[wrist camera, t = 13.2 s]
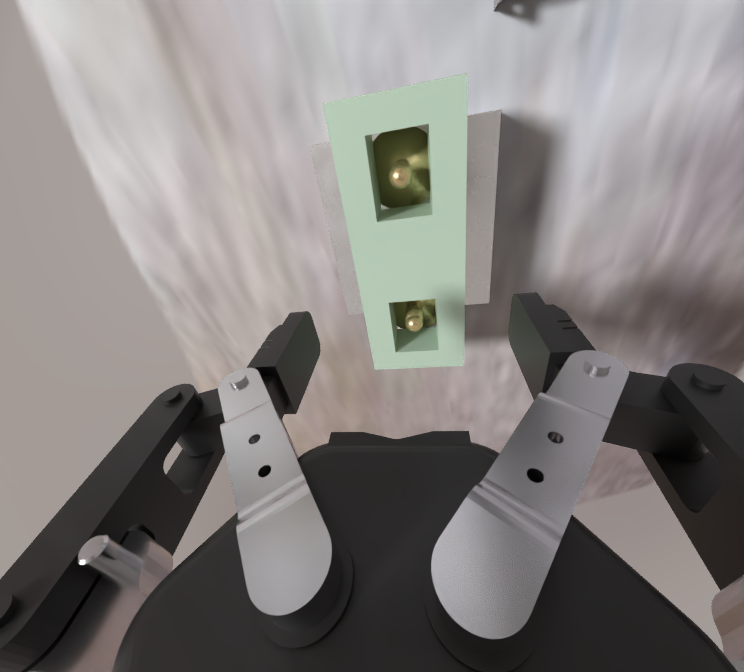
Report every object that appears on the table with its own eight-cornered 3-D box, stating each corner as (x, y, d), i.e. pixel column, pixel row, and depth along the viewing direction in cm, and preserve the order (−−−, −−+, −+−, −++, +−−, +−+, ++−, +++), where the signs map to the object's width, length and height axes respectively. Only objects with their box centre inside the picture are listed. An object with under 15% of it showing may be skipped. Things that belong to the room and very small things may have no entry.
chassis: (314, 141, 21) (274, 148, 15) (495, 106, 19) (534, 98, 13) (351, 308, 29) (334, 358, 23) (485, 296, 27) (507, 348, 20)
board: (336, 106, 16) (322, 103, 14) (459, 81, 15) (468, 72, 13) (378, 345, 25) (375, 369, 23) (458, 340, 24) (463, 365, 22)
